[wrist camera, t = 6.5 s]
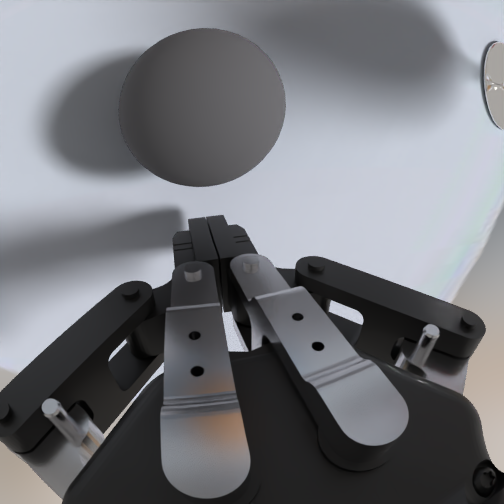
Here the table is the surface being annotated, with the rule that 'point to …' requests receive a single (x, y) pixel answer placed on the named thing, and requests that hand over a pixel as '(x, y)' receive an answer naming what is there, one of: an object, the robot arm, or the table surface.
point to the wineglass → (495, 82)
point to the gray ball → (202, 107)
